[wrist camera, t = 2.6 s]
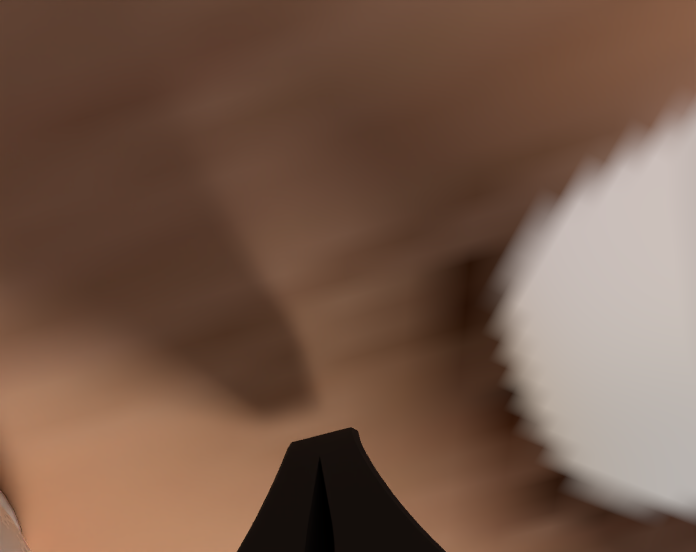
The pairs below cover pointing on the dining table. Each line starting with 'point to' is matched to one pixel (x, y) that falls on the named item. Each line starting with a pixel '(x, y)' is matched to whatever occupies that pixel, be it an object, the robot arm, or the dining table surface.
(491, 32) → the dining table surface
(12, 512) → the lidded jar
